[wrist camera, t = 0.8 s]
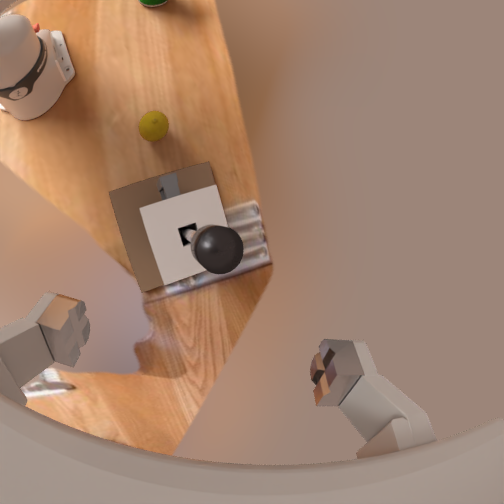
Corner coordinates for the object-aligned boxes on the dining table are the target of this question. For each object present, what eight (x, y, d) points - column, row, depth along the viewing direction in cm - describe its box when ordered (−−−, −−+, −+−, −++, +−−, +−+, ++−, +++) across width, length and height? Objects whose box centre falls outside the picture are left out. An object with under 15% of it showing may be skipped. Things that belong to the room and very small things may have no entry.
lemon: (172, 131, 51) (177, 119, 43) (152, 151, 50) (154, 141, 43) (153, 113, 49) (155, 99, 41) (133, 133, 48) (131, 121, 41)
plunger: (149, 213, 42) (156, 217, 19) (195, 199, 44) (253, 187, 22) (164, 260, 43) (189, 313, 21) (209, 244, 46) (276, 279, 23)
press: (109, 192, 48) (90, 182, 29) (207, 162, 54) (242, 139, 35) (141, 290, 53) (143, 332, 34) (233, 257, 59) (279, 280, 40)
